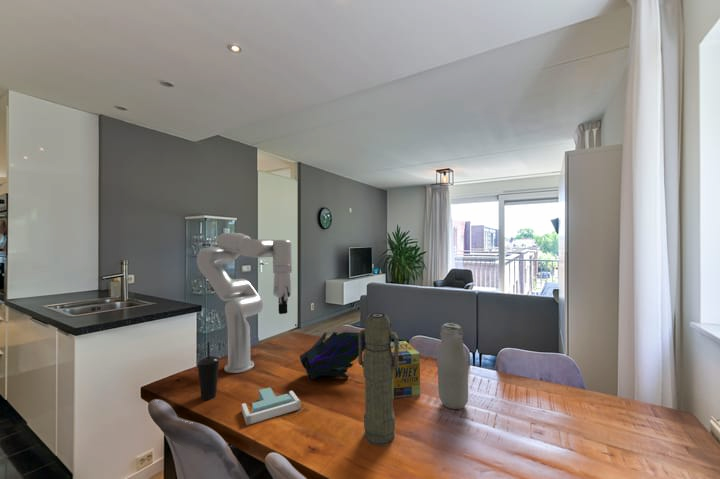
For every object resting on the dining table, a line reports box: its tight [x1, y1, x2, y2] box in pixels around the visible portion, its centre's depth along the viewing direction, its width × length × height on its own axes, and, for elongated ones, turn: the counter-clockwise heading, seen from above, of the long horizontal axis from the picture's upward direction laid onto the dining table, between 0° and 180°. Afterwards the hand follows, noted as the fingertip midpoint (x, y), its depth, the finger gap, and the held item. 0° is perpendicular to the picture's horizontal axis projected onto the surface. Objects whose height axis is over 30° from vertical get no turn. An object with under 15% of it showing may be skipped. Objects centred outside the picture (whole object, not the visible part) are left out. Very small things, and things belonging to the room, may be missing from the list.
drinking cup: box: [196, 341, 221, 401], centre depth 112 cm, size 8×8×20 cm
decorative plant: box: [299, 331, 366, 380], centre depth 129 cm, size 21×26×30 cm
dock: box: [241, 390, 302, 426], centre depth 103 cm, size 9×17×2 cm, turn 120°
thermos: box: [358, 312, 400, 447], centre depth 88 cm, size 9×12×35 cm
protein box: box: [391, 340, 421, 400], centre depth 117 cm, size 10×15×16 cm
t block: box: [251, 387, 291, 414], centre depth 105 cm, size 12×12×4 cm
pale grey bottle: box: [436, 322, 469, 410], centre depth 103 cm, size 10×10×28 cm
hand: (282, 313), depth 127 cm, fingers closed
